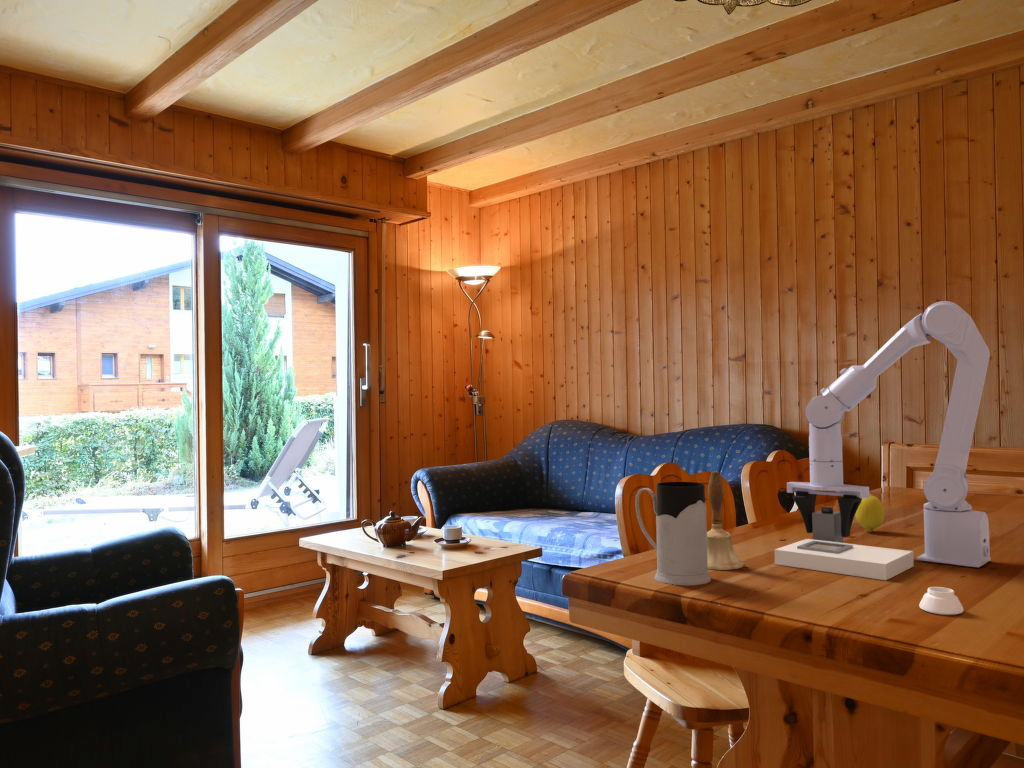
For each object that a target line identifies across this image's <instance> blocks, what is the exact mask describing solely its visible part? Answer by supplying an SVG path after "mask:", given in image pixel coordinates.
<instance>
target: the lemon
mask: <svg viewBox="0 0 1024 768" xmlns="http://www.w3.org/2000/svg"><path fill="white" fill-rule="evenodd" d="M885 516H886V515H885V508H884V504H883V502H882V500H880V499H879V498H878V497H877V496H875V495H873V494H872V493H869V498H862V501H861V503H860V505H859V507H858V509H857V511H856V513H855V518H856V521H857V523H858V524H859V525H860V526H861V527H862V528H864V529H866V530H867V531H868V532H869V533H872V532H874V530H875V529H878V528H879V527H881V526H882V524H883V523H884V522H885V521H884V520H885Z"/></svg>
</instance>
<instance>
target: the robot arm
mask: <svg viewBox="0 0 1024 768" xmlns="http://www.w3.org/2000/svg"><path fill="white" fill-rule="evenodd" d="M931 337H932V338H934V339H935V340H936V341H938V342H939V343H941V344H943V345H944V346H945V347H946V348H947V349H948V351H949V352H950V353H951V354H952V355H953V357H954V358H956V367H955V370H954V371H955V372H954V377H953V381H952V386H951V391H950V394H949V395H950V396H949V399H948V405H947V410H946V415H945V418H944V424H943V429H942V434H941V439H940V442H939V448H938V452H937V455H936V460H935V462H934V467H933V471H932V473H930V475H929V476H928V477H927V478H926V480H925V481H924V485H923V493H924V494H923V495H924V496H925V498H926V500H927V501H928V502H926V503H923V529H924V531H923V535H924V536H923V538H924V540H923V541H924V552H923V553H922V554H921V555H919V556H917V557H916V561H917V560H918V561H920V562H921V561H922V562H930V563H938V564H939V563H940V564H946V565H955V566H964V567H969V568H980V567H982V566H984V565H985V564H987V563H988V562H990V561H991V560H992V558H991V557H990V555H991V553H990V550H991V549H990V525H989V524H990V523H989V519H988V518H989V517H988V515H987V512H984V511H982V510H981V511H979V510H973V507H972V505H971V504H970V503H969V502H968V501H966V497H967V494H968V492H969V488H970V486H969V480H968V478H967V472H966V471H967V466H968V462H969V456H970V450H971V448H972V447H971V446H972V441H973V437H974V432H975V428H976V423H977V419H978V414H979V408H980V403H981V399H982V395H983V390H984V385H985V381H986V375H987V371H988V368H989V363H990V362H989V361H990V358H991V355H990V354H991V353H990V349H989V347H988V345H987V344H986V342H985V340H984V338H983V336H982V335H981V333H980V331H979V329H978V327H977V324H976V323H975V322H974V320H973V318H972V316H971V315H970V314H968V312H966V311H965V310H964V309H963V308H962V307H961V306H960V305H958V304H957V303H955V302H952V301H950V300H949V301H948V300H941V301H936V302H935V303H932V304H931V305H929V306H927V308H926V309H925V310H924V312H923V314H922V313H919V314H918V315H916V316H915V317H913V318H912V319H911V320H909V321H908V322H907V323H906V324H905V325H903V326H902V327H901V328H900V329H899V330H898V331H897V332H896V333H895V334H894V335H893V336H892V337H890V339H889V340H888V341H887V342H886V343H884V345H882V347H880V348H879V349H878V350H877V352H875V353H874V354H873V355H872V356H871V357H870V358H869V359H868V360H867V361H866V362H865V363H864V364H862V365H851V366H850V367H848V368H846V367H843V368H842V369H841V370H840V371H839V373H838V374H840V376H838V377H837V378H836V379H835V380H834V381H833V382H832V383H831V384H830V385H828V387H823V388H821V390H820V392H819V393H820V394H822V395H816V396H813V397H811V399H810V401H809V402H808V403H807V405H806V407H805V417H806V419H807V421H808V422H809V423H808V425H809V428H808V430H809V431H808V432H809V435H808V447H809V448H808V452H809V453H808V454H809V458H808V459H809V482H808V481H805V482H804V481H789V482H786V493H788V494H793V493H794V494H795V495H793V496H792V498H793V501H794V503H795V504H796V506H797V508H798V510H799V512H800V515H801V517H802V519H803V522H804V526H805V531H806V534H813V528H812V513H813V512H816V511H815V510H816V501H817V495H821V496H822V495H825V496H834V497H836V496H837V497H839V498H837V503H838V509H839V512H840V515H841V536H842V537H843V538H846V537H850V536H851V529H852V524H853V522H854V518H855V517H856V515H855V513H856V511H857V509H858V507H859V505H860V503H861V501H862V498H869V494H870V486H865V485H864V486H862V485H855V484H854V485H853V484H846V483H845V484H844V466H843V465H844V463H843V462H844V459H843V436H842V424H841V422H842V421H843V420H844V417H845V412H850V411H852V410H853V409H854V408H855V407H856V406H857V405H859V404H860V403H861V402H862V401H863V400H865V398H867V397H868V396H869V395H870V394H871V393H872V392H873V391H874V390H875V389H876V388H877V378H878V377H879V376H880V375H881V374H883V373H884V372H885V371H886V370H888V369H889V368H890V367H891V366H892V365H894V363H896V362H897V361H898V360H899V359H901V358H902V357H903V356H904V355H906V354H907V353H908V352H909V351H910V350H912V349H913V348H916V347H920V346H925V345H928V344H929V345H930V344H931V343H932V342H931V340H930V338H931Z"/></svg>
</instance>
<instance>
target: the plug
mask: <svg viewBox="0 0 1024 768" xmlns="http://www.w3.org/2000/svg"><path fill="white" fill-rule="evenodd" d="M820 508H821V510H817V511H815V512H813V513H812V528H813V532H812V539H814V540H822V541H831V542H839V543H844V537H842V536H841V515H840V511H834V507H833V506H829V505H828V506H827V505H826V506H824V505H823V506H821V507H820Z"/></svg>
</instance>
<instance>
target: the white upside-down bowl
mask: <svg viewBox="0 0 1024 768" xmlns="http://www.w3.org/2000/svg"><path fill="white" fill-rule="evenodd" d="M926 591H927V592H925V593H924V594H923V596H922V598H921V600H920V602H919V604H918V606H919V608H920V609H921V610H923V611H925V612H927V613H929V614H934V615H941V616H956V615H960V614H962V613H963V612H964V607H963V605H962V603H961V601H960V599H959V597H958V596H957V595H955V591H954V590H953V589H952V588H948V587H943V586H930V587H928V588H927V590H926Z"/></svg>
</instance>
